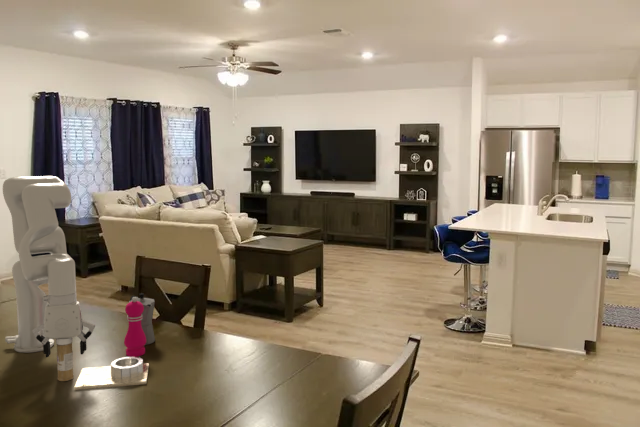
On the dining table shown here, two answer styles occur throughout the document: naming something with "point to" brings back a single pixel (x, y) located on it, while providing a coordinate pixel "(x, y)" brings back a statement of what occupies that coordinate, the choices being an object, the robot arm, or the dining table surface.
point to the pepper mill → (134, 329)
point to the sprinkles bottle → (64, 359)
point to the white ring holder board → (114, 374)
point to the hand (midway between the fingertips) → (65, 354)
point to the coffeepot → (147, 317)
